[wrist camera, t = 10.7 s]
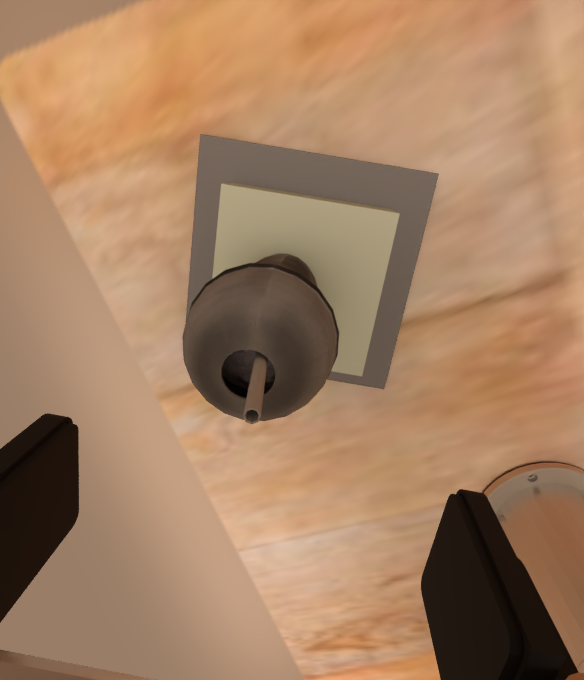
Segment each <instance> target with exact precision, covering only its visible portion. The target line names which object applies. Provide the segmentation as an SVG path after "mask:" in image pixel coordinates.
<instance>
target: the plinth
mask: <svg viewBox="0 0 584 680" xmlns="http://www.w3.org/2000/svg"><path fill="white" fill-rule="evenodd" d="M438 175H439V174H437V173H431V172H425V171H419V170H413V169H407V168H401V167H395V166H389V165H383V164H377V163H371V162H364V161H358V160H352V159H346V158H340V157H334V156H328V155H322V154H316V153H310V152H304V151H298V150H292V149H286V148H280V147H274V146H268V145H262V144H256V143H250V142H244V141H238V140H232V139H226V138H220V137H214V136H208V135H202V134H200V144H199V157H198V170H197V183H196V196H195V209H194V222H193V235H192V248H191V261H190V274H189V287H188V300H187V314H186V321H187V318H188V314H189V311H190V307H191V304H192V302H193V300H194V299H195V298H196V296H197V295H198V293H199V292H200V291H201V289H202V288H203V286H204V285H205V284H206V283H207V282H209V281H210V280H211V279H213V278H214V277H216V276H217V275H219V274H220V273H221V272H223V271H224V270H226V269H230V268H233V267H237V266H241V265H244V264H248V263H256V262H257V261H259V260H261V259H263V258H265V257H268V256H271V255H275V254H290V255H293V256H296V257H298V258H300V259H301V260H302V261H303V262H305V263H306V264H307V266H308V267H309V269H310V270H311V272H312V273H313V275H314V277H315V281H316V284H317V287H318V288H319V289H320V291H321V292H322V294H323V295H324V297H325V298H326V300H327V301H328V303H329V304H330V306H331V307H332V309H333V311H334V315H335V318H336V322H337V326H338V330H339V343H338V356H337V358H336V360H335V363H334V365H333V367H332V370H331V372H330V374H329V376H328V378H327V379H328V380H334V381H339V382H345V383H351V384H357V385H363V386H369V387H374V388H380V389H384V388H385V384H386V380H387V376H388V372H389V368H390V364H391V360H392V356H393V352H394V348H395V345H396V341H397V337H398V333H399V329H400V325H401V321H402V317H403V313H404V309H405V305H406V301H407V297H408V293H409V289H410V285H411V281H412V278H413V274H414V270H415V266H416V262H417V258H418V254H419V250H420V246H421V242H422V238H423V234H424V230H425V226H426V222H427V218H428V215H429V211H430V207H431V203H432V199H433V195H434V191H435V187H436V183H437V179H438ZM183 355H184V353H183Z"/></svg>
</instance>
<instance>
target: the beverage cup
mask: <svg viewBox="0 0 584 680" xmlns="http://www.w3.org/2000/svg"><path fill="white" fill-rule="evenodd" d="M338 343H339V330H338V326H337V322H336V318H335V315H334V311H333V309H332V307H331V306H330V304H329V303H328V301H327V300H326V298H325V297H324V295H323V294H322V292H321V291H320V289H319V288H318V287H317V284H316V281H315V277H314V275H313V273H312V272H311V270H310V269H309V267H308V266H307V264H306V263H305V262H303V261H302V260H301V259H300V258H298V257H296V256H293V255H290V254H275V255H271V256H268V257H265V258H263V259H261V260H259V261H257V262H256V263H248V264H244V265H241V266H237V267H233V268H230V269H226V270H224V271H223V272H221V273H220V274H219V275H217V276H216V277H214V278H213V279H211V280H210V281H209V282H207V283H206V284H205V285H204V286H203V288H202V289H201V291H200V292H199V293H198V295H197V296H196V298H195V299H194V300H193V302H192V304H191V307H190V311H189V314H188V318H187V321H186V325H185V329H184V333H183V353H184V362H185V365H186V368H187V370H188V373H189V375H190V378H191V381H192V383H193V384H194V386H195V387H196V388H197V389H198V391H199V392H200V393H201V394H202V396H203V397H204V398H205V399H206V400H207V401H208V402H209V403H210V404H212V405H213V406H215V407H216V408H218V409H219V410H220V411H222V412H223V413H225V414H228V415H231V416H234V417H237V418H240V419H243V420H245V421H246V422H248V423H251V424H253V423H256V422H258V421H267V420H271V419H276V418H280V417H285V416H287V415H289V414H291V413H293V412H294V411H296V410H298V409H300V408H301V407H303V406H305V405H306V404H308V403H309V402H310V400H311V399H312V398H313V397H314V396H315V395H316V394H317V393H318V392H319V391H320V389H321V388H322V387H323V386H324V384H325V382H326V380H327V378H328V376H329V374H330V372H331V370H332V367H333V365H334V363H335V360H336V358H337V356H338Z"/></svg>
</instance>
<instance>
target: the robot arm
mask: <svg viewBox="0 0 584 680" xmlns="http://www.w3.org/2000/svg"><path fill="white" fill-rule="evenodd" d="M78 466H79V464H78V427H77V425H75V424H73V422H72V419H71V418H69V417H64V416H59V415H54V414H44V415H42V416H41V417H40V418H39V419H37V420H36V421H35V422H34V423H32V424H31V425H30V426H29V427H27V428H26V429H25V430H24V431H22V432H21V433H20V434H19V435H17V436H16V437H15V438H14V439H12V440H11V441H10V442H9V443H7V444H6V445H5V446H3V447H2V448H1V449H0V622H1V621H2V620H3V618H4V617H5V616H6V614H7V613H8V612H9V610H10V609H11V608H12V607H13V605H14V604H15V603H16V601H17V600H18V599H19V597H20V596H21V595H22V593H23V592H24V591H25V589H26V588H27V587H28V585H29V584H30V583H31V581H32V580H33V579H34V577H35V576H36V575H37V573H38V572H39V571H40V569H41V568H42V567H43V566H44V564H45V563H46V562H47V560H48V559H49V558H50V556H51V555H52V554H53V552H54V551H55V550H56V548H57V547H58V546H59V544H60V543H61V542H62V540H63V539H64V538H65V537H66V535H67V534H68V533H69V531H70V530H71V529H72V527H73V526H74V524H75V522H76V520H77V517H78V513H79V479H78V478H79V472H78V471H79V470H78V469H79V467H78ZM421 591H422V597H423V601H424V606H425V610H426V615H427V619H428V624H429V628H430V633H431V637H432V642H433V646H434V651H435V655H436V660H437V664H438V669H439V673H440V678H441V680H584V470H582V469H579V468H577V467H574V466H571V465H567V464H561V463H538V464H531V465H527V466H524V467H521V468H517V469H515V470H513V471H511V472H509V473H507V474H505V475H503V476H502V477H500V478H499V479H497V480H496V481H495V482H493V483H492V484H491V485H490V486H489V487H488V488H487V489H486V490H485V492H484V493H479V492H473V491H468V490H462V489H460V490H459V491H458V492H457V494H450V496H449V498H448V500H447V503H446V506H445V509H444V512H443V515H442V518H441V521H440V524H439V527H438V530H437V533H436V536H435V539H434V542H433V545H432V548H431V551H430V554H429V557H428V560H427V563H426V566H425V569H424V572H423V575H422V580H421ZM0 680H155V679H149V678H144V677H139V676H134V675H129V674H124V673H119V672H113V671H109V670H103V669H98V668H93V667H88V666H82V665H77V664H72V663H66V662H62V661H56V660H51V659H46V658H40V657H35V656H30V655H25V654H20V653H15V652H9V651H4V650H0Z"/></svg>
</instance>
